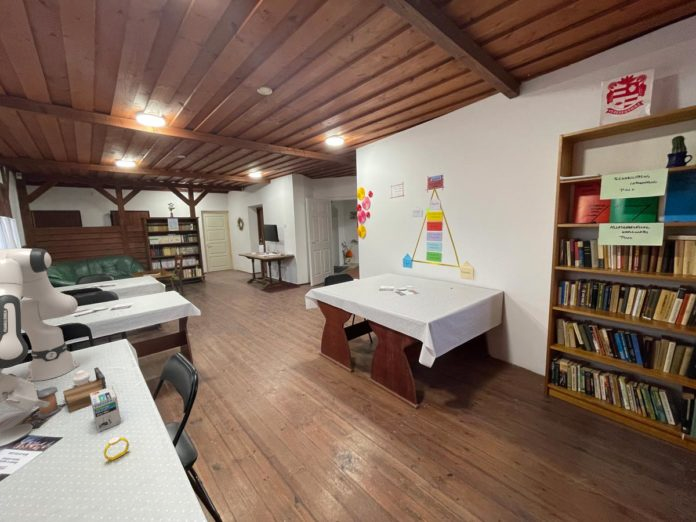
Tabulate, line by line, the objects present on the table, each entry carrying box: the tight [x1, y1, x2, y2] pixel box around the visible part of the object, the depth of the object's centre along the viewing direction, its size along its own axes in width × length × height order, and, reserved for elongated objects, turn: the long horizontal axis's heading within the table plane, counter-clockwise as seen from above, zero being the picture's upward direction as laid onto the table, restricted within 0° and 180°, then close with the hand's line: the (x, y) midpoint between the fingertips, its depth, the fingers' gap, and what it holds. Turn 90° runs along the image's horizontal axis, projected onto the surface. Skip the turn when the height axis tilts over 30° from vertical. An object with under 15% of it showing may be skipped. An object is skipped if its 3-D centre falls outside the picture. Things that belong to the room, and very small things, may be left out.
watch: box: [103, 436, 130, 461], centre depth 89 cm, size 6×3×6 cm, turn 138°
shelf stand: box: [62, 366, 107, 413], centre depth 120 cm, size 14×12×10 cm
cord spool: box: [37, 386, 62, 419], centre depth 112 cm, size 6×6×9 cm
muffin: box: [71, 369, 91, 387], centre depth 132 cm, size 6×6×7 cm
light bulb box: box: [90, 385, 122, 433], centre depth 105 cm, size 11×7×11 cm, turn 47°
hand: (47, 400), depth 112 cm, fingers open, 8 cm apart
